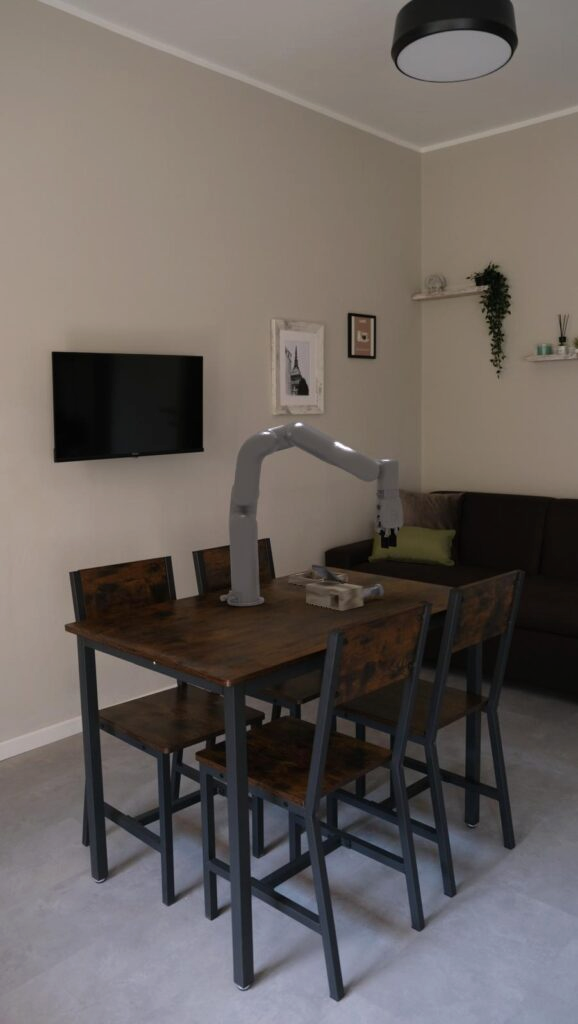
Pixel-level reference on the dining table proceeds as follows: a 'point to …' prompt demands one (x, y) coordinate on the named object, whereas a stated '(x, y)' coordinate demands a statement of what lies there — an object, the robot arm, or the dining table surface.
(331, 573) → the flap
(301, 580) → the coaster frame
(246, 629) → the dining table surface
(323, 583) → the block
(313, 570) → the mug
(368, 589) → the pin
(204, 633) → the dining table surface
